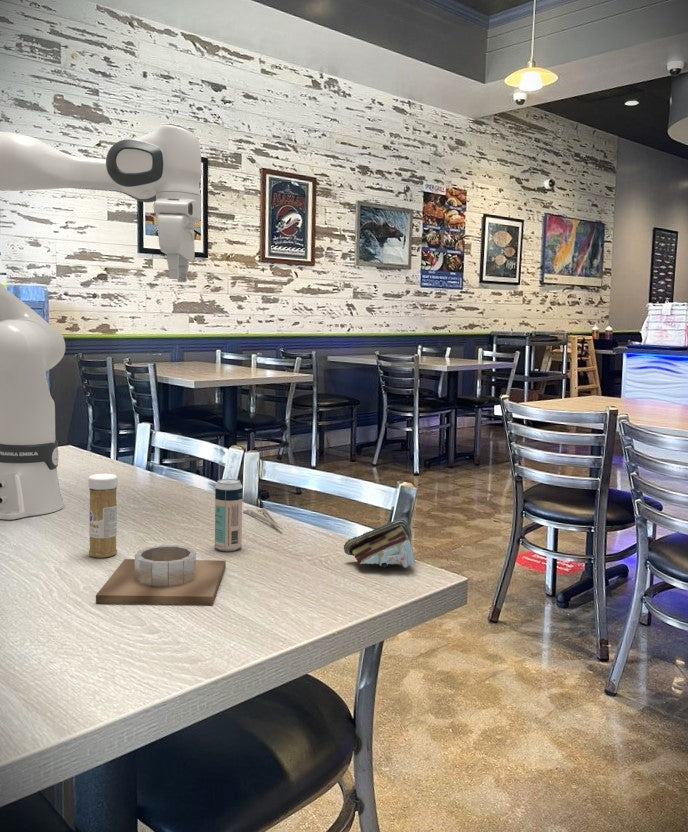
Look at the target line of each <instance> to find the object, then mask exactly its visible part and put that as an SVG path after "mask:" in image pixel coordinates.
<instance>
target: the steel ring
mask: <svg viewBox="0 0 688 832" xmlns="http://www.w3.org/2000/svg"><path fill="white" fill-rule="evenodd" d="M134 559H135V579H136V580H137V581H138V582H139V583H140V584H144V585H148V586H156V587H169V586H175V585H181V584H185V583H187V582H189V581H192V580H193V579H194V578H195V575H196V560H197V551H196V550H195V549H193V548H192V547H189V546H183V545H177V544H176V545H174V544H173V545H171V544H170V545H168V544H161V545H155V546H150V547H144V548H143V549H139V550H138V551H137V552H136V553H135V555H134Z"/></svg>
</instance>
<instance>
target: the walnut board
mask: <svg viewBox="0 0 688 832" xmlns="http://www.w3.org/2000/svg"><path fill="white" fill-rule="evenodd" d="M226 563H227V561H226V560H221V559H220V560H213V559H212V560H211V559H209V560H206V559H205V560H203V559H196V575H195V578H194V579H193V580H192V581H189V582H187V583H185V584H181V585H175V586H169V587H156V586H148V585H144V584H140V583H139V582H138V581H137V580H136V579H135V558H125V559H123V561H122V562H121V563H120V564H119V566H118V567H117V568H116V569H115V571H114V572H113V573H112V574H111V575H110V576H109V578H108V579H107V580H106V582H105V583H104V584H103V585H102V587H101V588H100V589H99V591H97V593H96V594H95V604H103V605H106V604H107V605H108V604H109V605H111V604H112V605H117V604H119V605H121V604H122V605H177V606H179V605H187V606H188V605H189V606H191V605H192V606H194V605H195V606H197V605H198V606H199V605H201V606H213V605H214V604H215V603H214V602H215V599H216V597H217V593H218V591H219V589H220V585H221V582H222V579H223V576H224V573H225V571H226Z"/></svg>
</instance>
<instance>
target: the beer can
mask: <svg viewBox="0 0 688 832" xmlns="http://www.w3.org/2000/svg"><path fill="white" fill-rule="evenodd" d="M214 488H215V491H214V493H215V495H214V498H215V499H214V502H215V503H214V546H213V547H214V548H216V549H217V550H218V551H221V552H234V551H237V550H238V549H240V548H242V547H243V546H242V545H243V543H242V538H243V537H242V535H243V533H242V531H243V530H242V529H243V488H244V486H243V485H242V483H241V480H240V479H235V478H223V479H222V478H221V479H219V480H217V482H216V484H215V486H214Z"/></svg>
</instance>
